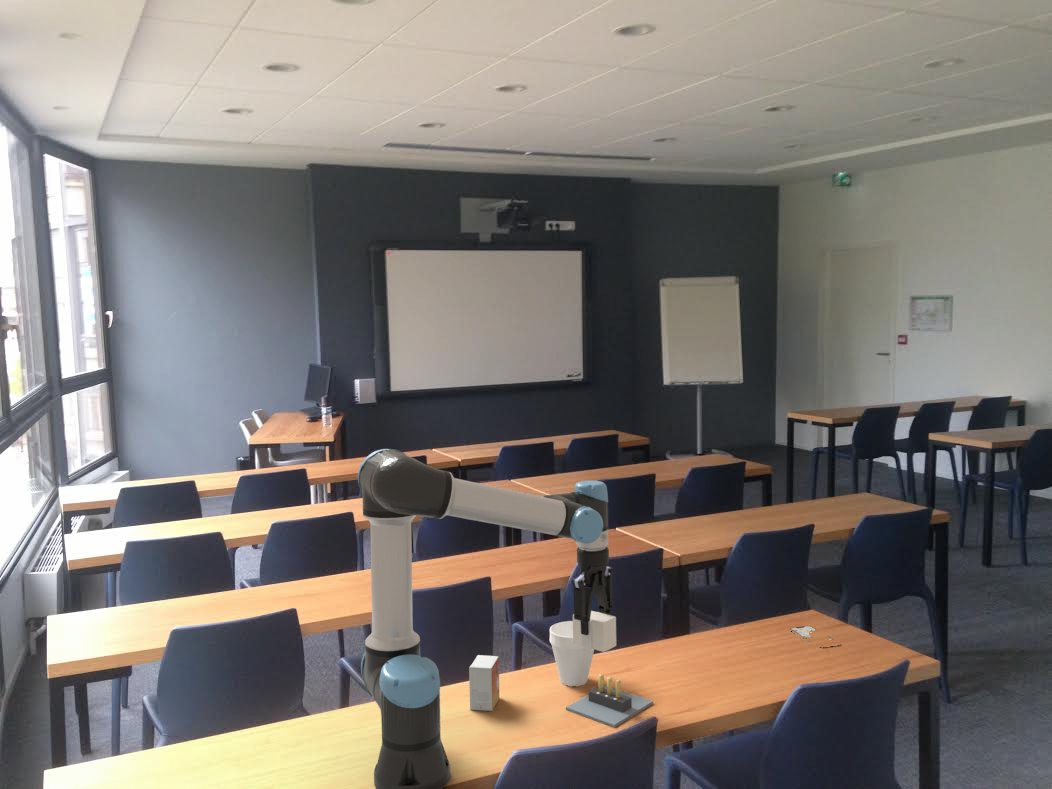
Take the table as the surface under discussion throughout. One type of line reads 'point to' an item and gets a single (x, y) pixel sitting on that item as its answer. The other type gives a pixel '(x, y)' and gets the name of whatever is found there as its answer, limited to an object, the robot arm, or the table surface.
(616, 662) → the table surface
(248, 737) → the table surface
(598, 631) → the block
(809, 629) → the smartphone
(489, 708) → the small box
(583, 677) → the cup
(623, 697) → the header
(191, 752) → the table surface
